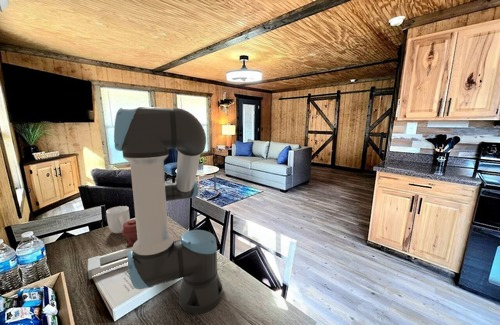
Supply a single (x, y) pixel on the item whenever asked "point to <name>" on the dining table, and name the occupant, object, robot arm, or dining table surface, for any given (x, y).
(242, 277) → the dining table surface
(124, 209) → the mug
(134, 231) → the mechanical component
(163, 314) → the dining table surface
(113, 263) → the white slotted console
